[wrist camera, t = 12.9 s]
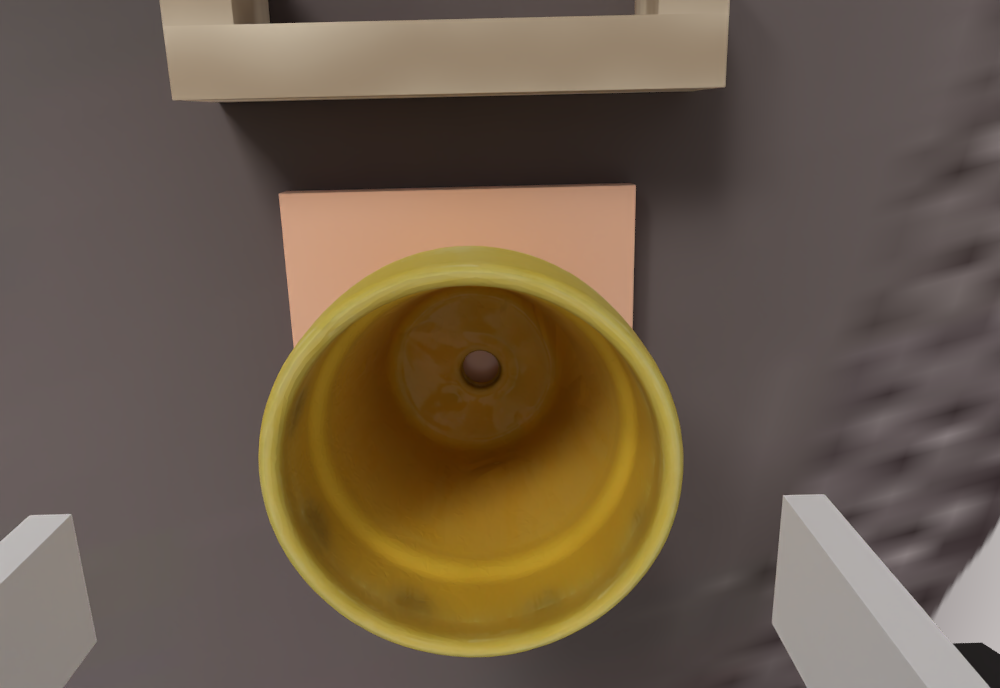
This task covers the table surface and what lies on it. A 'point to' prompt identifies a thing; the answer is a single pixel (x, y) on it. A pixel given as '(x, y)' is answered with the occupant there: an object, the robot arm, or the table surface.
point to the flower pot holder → (440, 53)
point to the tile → (455, 238)
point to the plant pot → (471, 454)
